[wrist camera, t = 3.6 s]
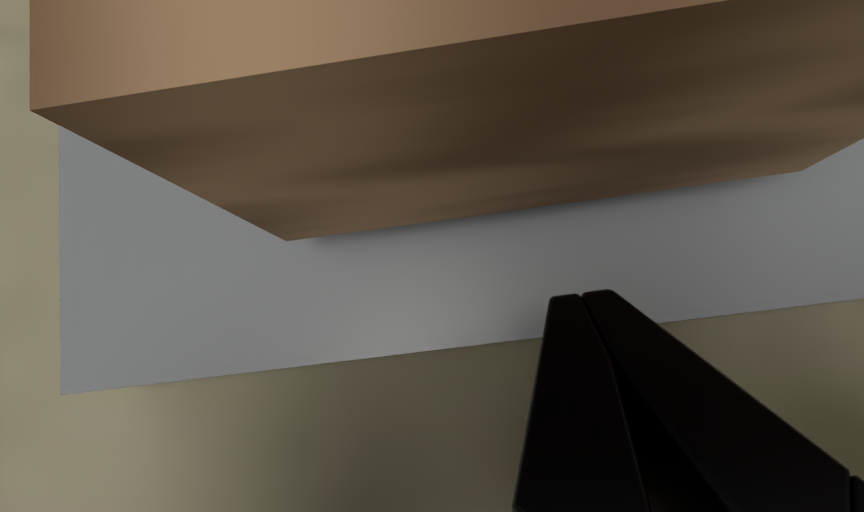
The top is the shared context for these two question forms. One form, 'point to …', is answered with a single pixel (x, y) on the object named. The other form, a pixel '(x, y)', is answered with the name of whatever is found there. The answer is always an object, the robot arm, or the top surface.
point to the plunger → (447, 99)
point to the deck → (420, 269)
